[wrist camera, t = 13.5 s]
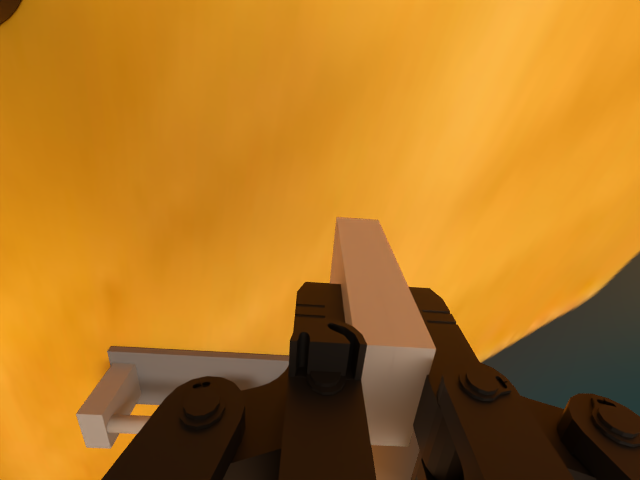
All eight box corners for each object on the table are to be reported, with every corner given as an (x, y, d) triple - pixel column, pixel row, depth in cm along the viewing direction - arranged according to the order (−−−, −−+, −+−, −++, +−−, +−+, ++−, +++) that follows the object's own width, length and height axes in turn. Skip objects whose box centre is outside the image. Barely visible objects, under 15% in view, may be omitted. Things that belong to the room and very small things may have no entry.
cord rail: (122, 397, 52) (71, 480, 41) (111, 346, 48) (50, 423, 37) (319, 406, 53) (320, 490, 42) (324, 357, 49) (327, 435, 38)
